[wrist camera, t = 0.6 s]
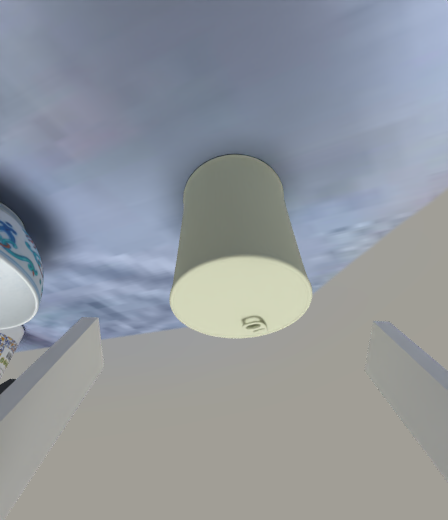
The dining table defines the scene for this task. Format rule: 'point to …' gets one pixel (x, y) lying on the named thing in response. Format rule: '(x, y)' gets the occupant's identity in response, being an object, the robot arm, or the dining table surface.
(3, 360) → the bath foam
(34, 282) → the chinaware
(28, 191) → the dining table surface
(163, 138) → the dining table surface
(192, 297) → the can
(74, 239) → the dining table surface
